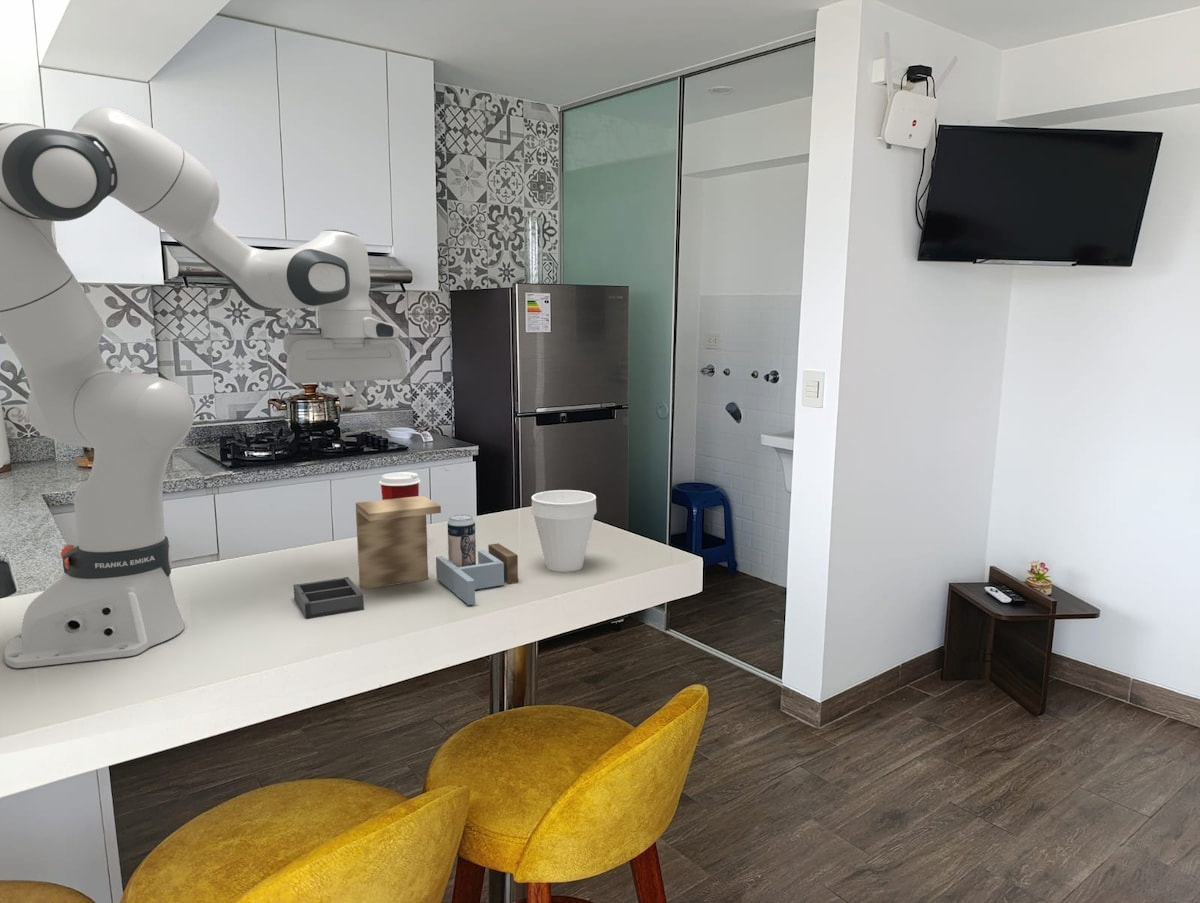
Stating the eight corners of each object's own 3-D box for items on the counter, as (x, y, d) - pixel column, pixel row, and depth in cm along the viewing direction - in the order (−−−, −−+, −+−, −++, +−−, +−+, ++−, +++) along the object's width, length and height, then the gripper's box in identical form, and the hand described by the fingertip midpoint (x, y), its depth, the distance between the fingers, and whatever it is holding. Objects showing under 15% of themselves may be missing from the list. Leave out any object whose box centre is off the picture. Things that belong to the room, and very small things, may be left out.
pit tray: (306, 618, 131) (305, 604, 131) (294, 598, 141) (293, 584, 140) (364, 609, 136) (363, 595, 135) (348, 590, 145) (348, 576, 145)
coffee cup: (429, 542, 176) (427, 472, 174) (411, 553, 168) (409, 479, 166) (392, 540, 178) (389, 470, 176) (373, 550, 170) (370, 477, 168)
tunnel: (373, 603, 138) (369, 513, 136) (359, 587, 147) (355, 502, 144) (443, 592, 144) (440, 505, 142) (426, 577, 152) (423, 495, 150)
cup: (574, 580, 151) (574, 506, 148) (519, 570, 157) (517, 498, 155) (608, 563, 161) (608, 493, 159) (554, 554, 167) (554, 487, 165)
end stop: (507, 583, 149) (507, 556, 148) (488, 570, 156) (488, 544, 156) (518, 582, 150) (517, 555, 149) (498, 569, 157) (498, 543, 157)
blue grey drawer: (468, 605, 137) (467, 581, 136) (436, 578, 151) (435, 556, 150) (520, 596, 141) (519, 573, 140) (484, 570, 155) (484, 549, 155)
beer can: (471, 587, 147) (469, 520, 145) (445, 586, 147) (443, 519, 146) (480, 579, 151) (478, 514, 149) (454, 577, 152) (453, 513, 150)
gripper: (285, 328, 137) (290, 412, 139) (408, 327, 147) (411, 406, 149) (279, 328, 143) (284, 408, 145) (398, 327, 153) (401, 402, 155)
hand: (349, 407), depth 147 cm, fingers closed
